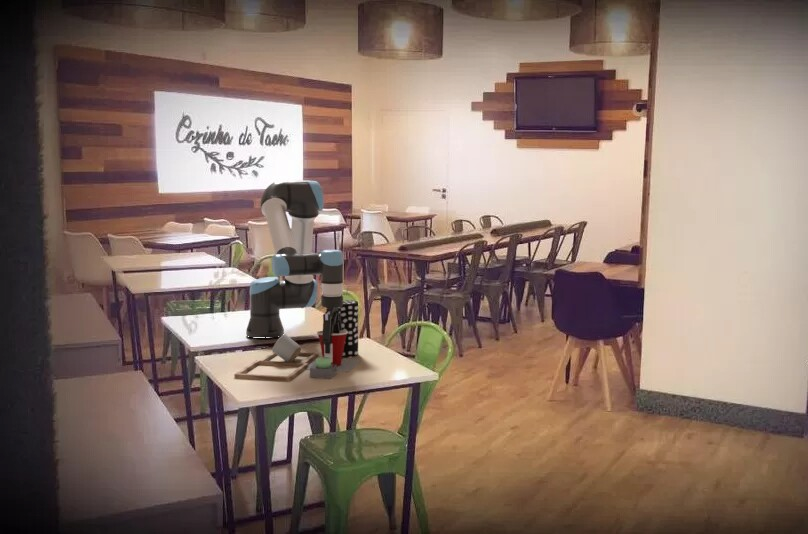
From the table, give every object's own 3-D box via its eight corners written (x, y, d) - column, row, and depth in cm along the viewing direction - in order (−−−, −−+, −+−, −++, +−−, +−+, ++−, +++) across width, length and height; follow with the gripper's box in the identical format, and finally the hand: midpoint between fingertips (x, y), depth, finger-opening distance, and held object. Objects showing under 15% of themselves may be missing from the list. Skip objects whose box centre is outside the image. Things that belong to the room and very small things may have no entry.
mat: (317, 359, 283) (317, 358, 283) (360, 361, 280) (360, 360, 280) (303, 370, 267) (303, 369, 267) (348, 373, 264) (348, 371, 264)
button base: (316, 373, 264) (316, 363, 263) (336, 374, 263) (336, 364, 262) (309, 378, 257) (309, 368, 257) (330, 379, 256) (330, 369, 255)
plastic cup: (347, 360, 279) (347, 327, 278) (348, 368, 269) (348, 333, 267) (317, 361, 278) (316, 327, 277) (316, 368, 268) (316, 334, 266)
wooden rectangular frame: (272, 354, 290) (272, 350, 289) (321, 357, 286) (321, 353, 286) (234, 378, 256) (234, 374, 256) (289, 382, 253) (289, 377, 253)
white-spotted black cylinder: (332, 354, 290) (332, 301, 288) (354, 352, 293) (354, 299, 291) (339, 359, 283) (339, 304, 280) (361, 357, 286) (361, 303, 283)
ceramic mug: (287, 368, 276) (293, 354, 272) (269, 354, 278) (274, 340, 273) (304, 351, 285) (310, 338, 280) (286, 339, 286) (291, 325, 281)
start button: (318, 363, 262) (318, 356, 262) (332, 364, 261) (332, 357, 261) (313, 367, 257) (313, 360, 257) (328, 368, 256) (328, 361, 256)
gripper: (330, 289, 282) (331, 351, 284) (311, 299, 261) (312, 365, 263) (350, 290, 280) (351, 352, 283) (333, 300, 259) (333, 367, 262)
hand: (332, 358), depth 273 cm, fingers closed on plastic cup, 9 cm apart
